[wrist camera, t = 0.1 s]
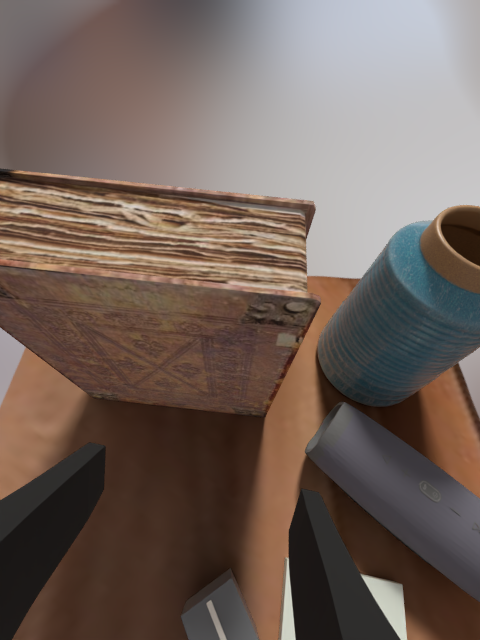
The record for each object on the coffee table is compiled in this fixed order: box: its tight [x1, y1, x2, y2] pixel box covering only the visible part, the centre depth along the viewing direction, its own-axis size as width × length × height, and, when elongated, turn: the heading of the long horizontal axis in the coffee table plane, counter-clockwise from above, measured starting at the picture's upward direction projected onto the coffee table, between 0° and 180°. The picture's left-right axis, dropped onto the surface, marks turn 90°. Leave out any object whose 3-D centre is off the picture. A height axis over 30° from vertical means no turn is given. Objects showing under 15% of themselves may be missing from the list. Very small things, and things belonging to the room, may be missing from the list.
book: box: [0, 169, 321, 417], centre depth 33 cm, size 25×9×30 cm, turn 84°
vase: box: [317, 205, 480, 407], centre depth 38 cm, size 16×16×27 cm
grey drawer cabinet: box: [181, 568, 259, 640], centre depth 30 cm, size 6×6×5 cm
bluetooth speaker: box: [305, 402, 480, 602], centre depth 35 cm, size 23×9×10 cm, turn 50°
